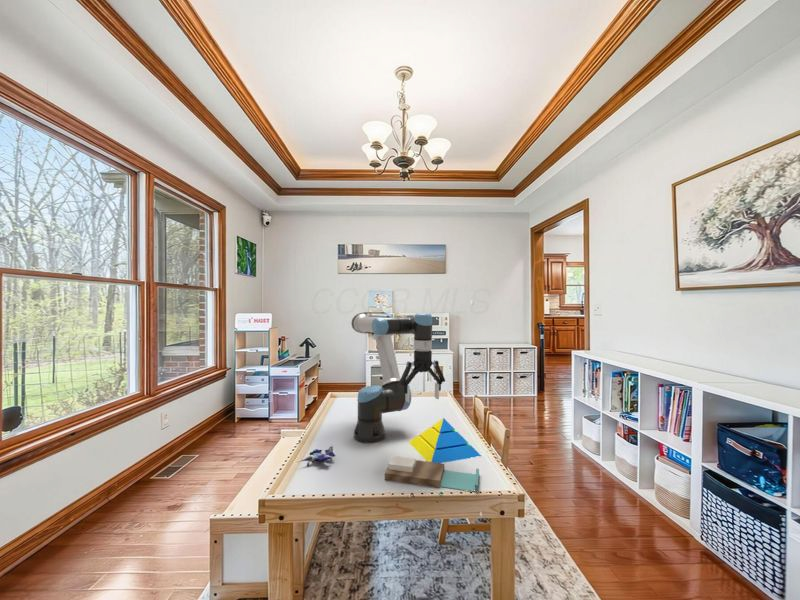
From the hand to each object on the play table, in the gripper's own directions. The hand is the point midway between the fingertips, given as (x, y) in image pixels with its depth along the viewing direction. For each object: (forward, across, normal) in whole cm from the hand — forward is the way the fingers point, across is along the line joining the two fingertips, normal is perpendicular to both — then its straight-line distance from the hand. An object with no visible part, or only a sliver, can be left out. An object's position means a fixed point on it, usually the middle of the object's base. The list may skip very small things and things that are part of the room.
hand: (422, 399), depth 146 cm
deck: (+23, -9, -15) cm, 29 cm away
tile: (+21, -13, -12) cm, 27 cm away
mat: (+23, +5, -25) cm, 34 cm away
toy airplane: (+24, -43, +6) cm, 49 cm away
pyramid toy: (+24, +11, +2) cm, 27 cm away
